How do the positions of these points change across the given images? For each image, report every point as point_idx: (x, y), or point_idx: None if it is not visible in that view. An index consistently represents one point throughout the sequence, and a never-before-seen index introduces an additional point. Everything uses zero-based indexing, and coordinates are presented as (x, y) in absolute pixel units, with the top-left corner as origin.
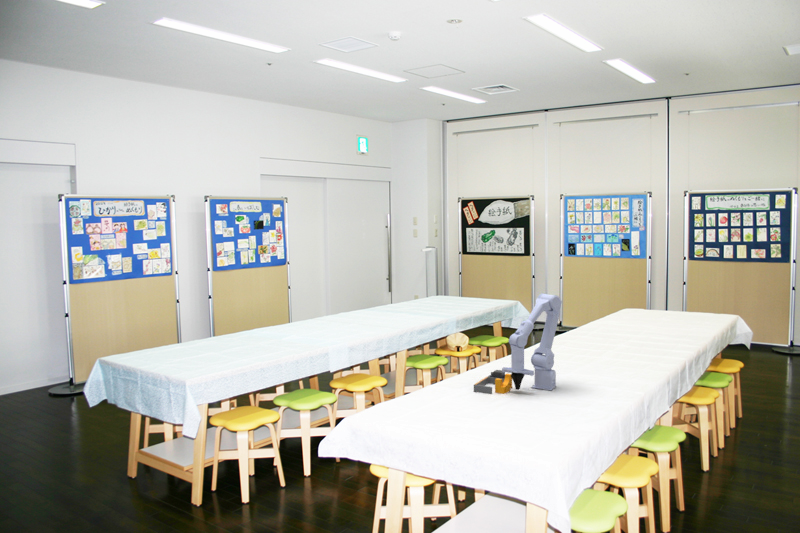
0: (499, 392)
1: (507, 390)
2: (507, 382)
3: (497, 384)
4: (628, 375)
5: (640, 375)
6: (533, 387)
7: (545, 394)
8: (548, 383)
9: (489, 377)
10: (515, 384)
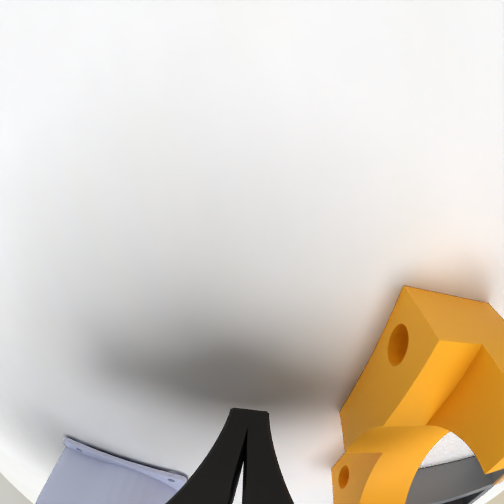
0: (454, 301)
1: (367, 383)
2: (375, 487)
3: None
4: None
5: (32, 494)
6: (170, 475)
7: (38, 372)
8: (71, 477)
9: (487, 485)
10: (261, 460)
